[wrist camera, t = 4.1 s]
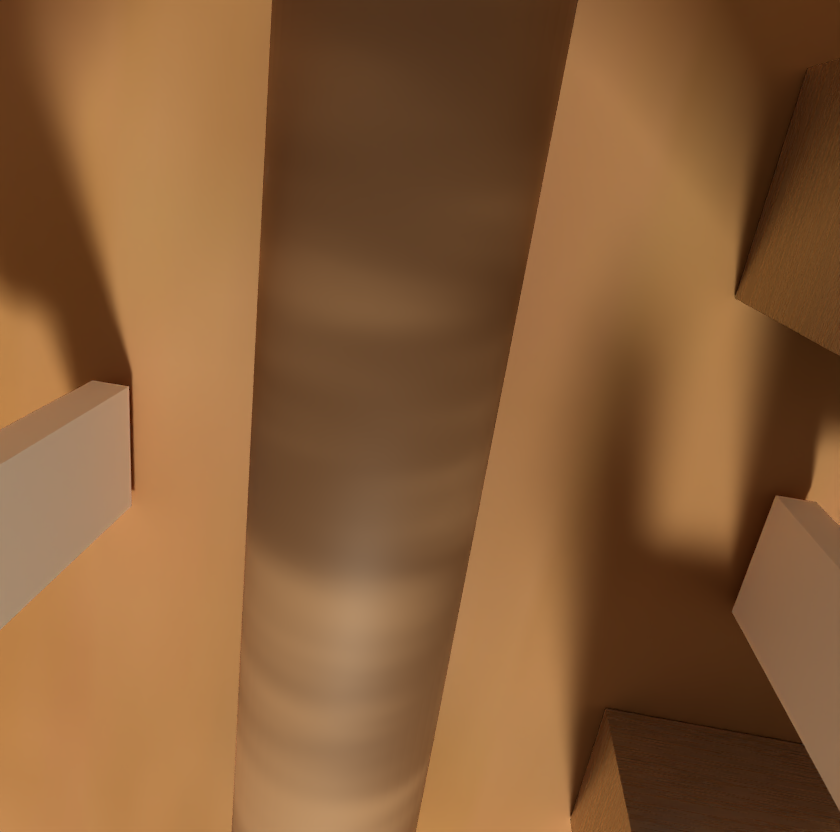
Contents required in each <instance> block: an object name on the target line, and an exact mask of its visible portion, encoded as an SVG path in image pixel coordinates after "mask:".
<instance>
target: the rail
mask: <svg viewBox="0 0 840 832" xmlns="http://www.w3.org/2000/svg"><path fill="white" fill-rule="evenodd" d="M577 3H578V0H272V14H271V35H270V55H269V76H268V96H267V117H266V138H265V158H264V179H263V199H262V220H261V241H260V261H259V282H258V302H257V323H256V343H255V364H254V385H253V405H252V426H251V446H250V467H249V487H248V508H247V529H246V549H245V570H244V590H243V611H242V632H241V652H240V673H239V693H238V714H237V734H236V755H235V776H234V796H233V817H232V832H416V828H417V822H418V817H419V812H420V807H421V802H422V797H423V792H424V787H425V781H426V776H427V771H428V766H429V761H430V756H431V751H432V746H433V740H434V735H435V730H436V725H437V720H438V715H439V710H440V705H441V699H442V694H443V689H444V684H445V679H446V674H447V669H448V664H449V658H450V653H451V648H452V643H453V638H454V633H455V628H456V623H457V617H458V612H459V607H460V602H461V597H462V592H463V587H464V582H465V576H466V571H467V566H468V561H469V556H470V551H471V546H472V541H473V535H474V530H475V525H476V520H477V515H478V510H479V505H480V500H481V494H482V489H483V484H484V479H485V474H486V469H487V464H488V459H489V453H490V448H491V443H492V438H493V433H494V428H495V423H496V418H497V412H498V407H499V402H500V397H501V392H502V387H503V382H504V377H505V371H506V366H507V361H508V356H509V351H510V346H511V341H512V336H513V330H514V325H515V320H516V315H517V310H518V305H519V300H520V295H521V289H522V284H523V279H524V274H525V269H526V264H527V259H528V254H529V248H530V243H531V238H532V233H533V228H534V223H535V218H536V213H537V207H538V202H539V197H540V192H541V187H542V182H543V177H544V172H545V166H546V161H547V156H548V151H549V146H550V141H551V136H552V131H553V126H554V120H555V115H556V110H557V105H558V100H559V95H560V90H561V85H562V79H563V74H564V69H565V64H566V59H567V54H568V49H569V44H570V38H571V33H572V28H573V23H574V18H575V13H576V8H577Z"/></svg>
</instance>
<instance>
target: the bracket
mask: <svg viewBox="0 0 840 832" xmlns="http://www.w3.org/2000/svg"><path fill="white" fill-rule="evenodd" d="M735 298H736V299H737V300H739V301H741V302H743V303H745V304H746V305H748V306H750V307H752V308H754V309H755V310H757V311H759V312H761V313H763V314H765V315H766V316H768V317H770V318H772V319H774V320H775V321H777V322H779V323H781V324H783V325H784V326H786V327H788V328H790V329H792V330H794V331H795V332H797V333H799V334H801V335H803V336H804V337H806V338H808V339H810V340H812V341H813V342H815V343H817V344H819V345H821V346H822V347H824V348H826V349H828V350H830V351H832V352H833V353H835V354H837V355H839V356H840V58H839V59H836V60H833V61H829V62H826V63H823V64H819V65H816V66H813V67H809V68H807V72H806V75H805V78H804V81H803V84H802V87H801V91H800V94H799V97H798V100H797V103H796V106H795V110H794V113H793V116H792V119H791V122H790V125H789V129H788V132H787V135H786V138H785V141H784V144H783V148H782V151H781V154H780V157H779V160H778V163H777V167H776V170H775V173H774V176H773V179H772V182H771V186H770V189H769V192H768V195H767V198H766V201H765V205H764V208H763V211H762V214H761V217H760V220H759V224H758V227H757V230H756V233H755V236H754V239H753V243H752V246H751V249H750V252H749V255H748V258H747V262H746V265H745V268H744V271H743V274H742V277H741V281H740V284H739V287H738V290H737V293H736V296H735ZM570 820H571V829H572V832H840V811H839V809H838V807H837V805H836V804H835V802H834V800H833V798H832V796H831V794H830V792H829V791H828V789H827V787H826V785H825V783H824V781H823V780H822V778H821V776H820V774H819V772H818V770H817V768H816V767H815V765H814V763H813V761H812V759H811V757H810V755H809V754H808V752H807V750H806V748H805V746H804V745H803V744H798V743H792V742H787V741H781V740H776V739H770V738H765V737H759V736H754V735H748V734H743V733H738V732H732V731H727V730H721V729H716V728H710V727H705V726H699V725H694V724H689V723H683V722H678V721H672V720H667V719H661V718H656V717H650V716H645V715H639V714H634V713H629V712H623V711H618V710H612V709H607V708H605V711H604V715H603V718H602V721H601V724H600V727H599V730H598V734H597V737H596V740H595V743H594V746H593V749H592V753H591V756H590V759H589V762H588V765H587V768H586V772H585V775H584V778H583V781H582V784H581V787H580V791H579V794H578V797H577V800H576V803H575V807H574V810H573V813H572V816H571V819H570Z"/></svg>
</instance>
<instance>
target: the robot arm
mask: <svg viewBox="0 0 840 832" xmlns="http://www.w3.org/2000/svg"><path fill="white" fill-rule="evenodd" d="M131 506H132V500H131V454H130V409H129V386H124V385H118V384H112V383H106V382H100V381H94V380H92V381H90V382H88V383H86V384H84V385H83V386H81V387H79V388H77V389H75V390H73V391H71V392H70V393H68V394H66V395H64V396H62V397H60V398H58V399H56V400H55V401H53V402H51V403H49V404H47V405H45V406H43V407H41V408H40V409H38V410H36V411H34V412H32V413H30V414H28V415H27V416H25V417H23V418H21V419H19V420H17V421H15V422H13V423H12V424H10V425H8V426H6V427H4V428H2V429H0V629H1V628H2V627H4V626H5V625H6V624H7V623H8V622H9V621H10V620H11V619H12V618H13V617H14V616H15V615H16V614H17V613H18V612H19V611H21V610H22V609H23V608H24V607H25V606H26V605H27V604H28V603H29V602H30V601H31V600H32V599H33V598H34V597H35V596H36V595H37V594H39V593H40V592H41V591H42V590H43V589H44V588H45V587H46V586H47V585H48V584H49V583H50V582H51V581H52V580H53V579H54V578H56V577H57V576H58V575H59V574H60V573H61V572H62V571H63V570H64V569H65V568H66V567H67V566H68V565H69V564H70V563H71V562H72V561H74V560H75V559H76V558H77V557H78V556H79V555H80V554H81V553H82V552H83V551H84V550H85V549H86V548H87V547H88V546H89V545H91V544H92V543H93V542H94V541H95V540H96V539H97V538H98V537H99V536H100V535H101V534H102V533H103V532H104V531H105V530H106V529H108V528H109V527H110V526H111V525H112V524H113V523H114V522H115V521H116V520H117V519H118V518H119V517H120V516H121V515H122V514H123V513H124V512H126V511H127V510H128V509H129V508H130V507H131ZM732 613H733V615H734V617H735V618H736V620H737V622H738V624H739V626H740V628H741V630H742V631H743V633H744V635H745V637H746V639H747V641H748V643H749V644H750V646H751V648H752V650H753V652H754V654H755V656H756V657H757V659H758V661H759V663H760V665H761V667H762V668H763V670H764V672H765V674H766V676H767V678H768V680H769V681H770V683H771V685H772V687H773V689H774V691H775V693H776V694H777V696H778V698H779V700H780V702H781V704H782V705H783V707H784V709H785V711H786V713H787V715H788V717H789V718H790V720H791V722H792V724H793V726H794V728H795V730H796V731H797V733H798V735H799V737H800V739H801V741H802V743H803V744H804V746H805V748H806V750H807V752H808V754H809V755H810V757H811V759H812V761H813V763H814V765H815V767H816V768H817V770H818V772H819V774H820V776H821V778H822V780H823V781H824V783H825V785H826V787H827V789H828V791H829V792H830V794H831V796H832V798H833V800H834V802H835V804H836V805H837V807H838V809H839V811H840V526H839V525H838V524H837V523H836V522H835V521H834V520H833V519H832V518H831V517H830V516H829V515H828V514H827V513H826V512H825V511H824V510H823V509H822V508H821V507H820V506H819V505H818V504H817V503H816V502H813V501H807V500H801V499H795V498H789V497H783V496H777V495H776V496H775V499H774V501H773V504H772V506H771V509H770V512H769V514H768V517H767V520H766V522H765V525H764V528H763V530H762V533H761V536H760V538H759V541H758V544H757V546H756V549H755V552H754V554H753V557H752V559H751V562H750V565H749V567H748V570H747V573H746V575H745V578H744V581H743V583H742V586H741V589H740V591H739V594H738V597H737V599H736V602H735V605H734V607H733V610H732Z"/></svg>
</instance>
